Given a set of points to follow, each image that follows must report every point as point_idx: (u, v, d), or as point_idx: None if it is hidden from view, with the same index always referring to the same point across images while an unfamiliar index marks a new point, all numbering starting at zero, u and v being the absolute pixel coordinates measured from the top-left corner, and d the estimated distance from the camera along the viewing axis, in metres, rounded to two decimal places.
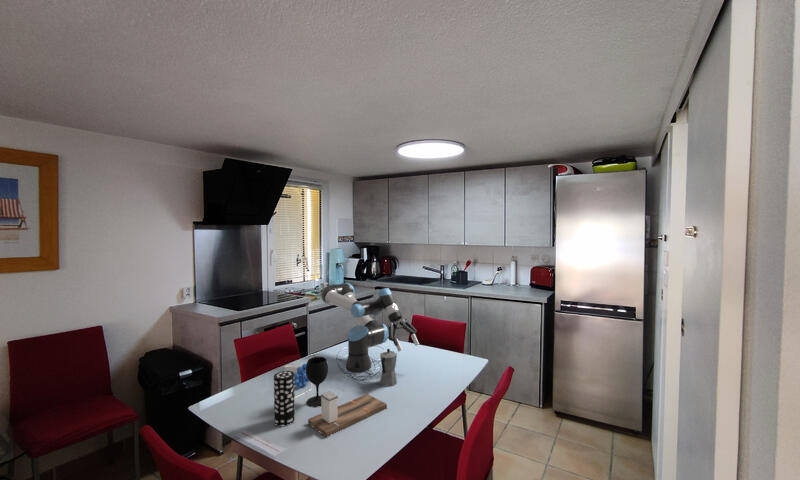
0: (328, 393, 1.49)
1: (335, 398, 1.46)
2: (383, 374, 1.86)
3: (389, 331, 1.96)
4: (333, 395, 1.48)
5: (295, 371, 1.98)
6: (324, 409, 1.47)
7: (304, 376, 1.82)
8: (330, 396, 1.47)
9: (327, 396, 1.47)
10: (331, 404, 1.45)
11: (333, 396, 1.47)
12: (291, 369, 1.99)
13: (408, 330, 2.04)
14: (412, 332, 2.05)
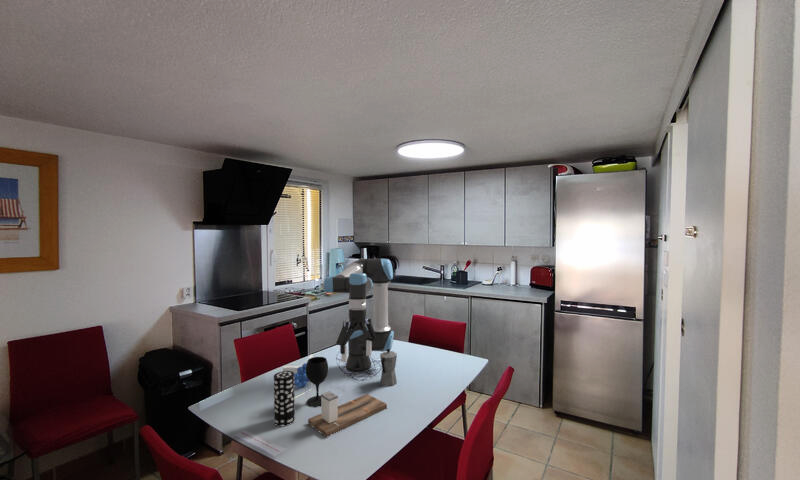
0: (328, 393, 1.49)
1: (335, 398, 1.46)
2: (383, 374, 1.86)
3: (341, 333, 1.48)
4: (333, 395, 1.48)
5: (294, 372, 1.97)
6: (324, 409, 1.47)
7: (304, 376, 1.82)
8: (330, 396, 1.47)
9: (327, 396, 1.47)
10: (331, 404, 1.45)
11: (333, 396, 1.47)
12: (290, 370, 1.97)
13: (366, 334, 1.57)
14: None
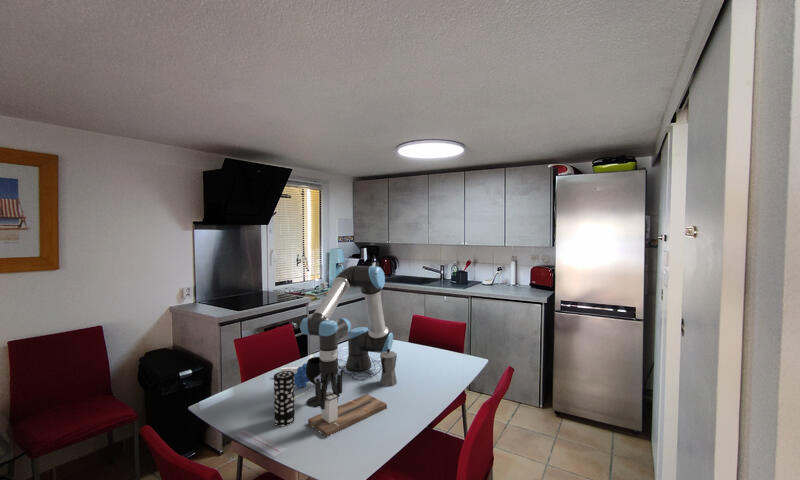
0: (328, 393, 1.49)
1: (335, 398, 1.46)
2: (383, 374, 1.86)
3: (316, 389, 1.44)
4: (333, 395, 1.48)
5: None
6: None
7: (304, 376, 1.82)
8: (330, 396, 1.47)
9: (327, 396, 1.47)
10: (331, 404, 1.45)
11: (333, 396, 1.47)
12: None
13: (333, 387, 1.49)
14: (335, 393, 1.50)
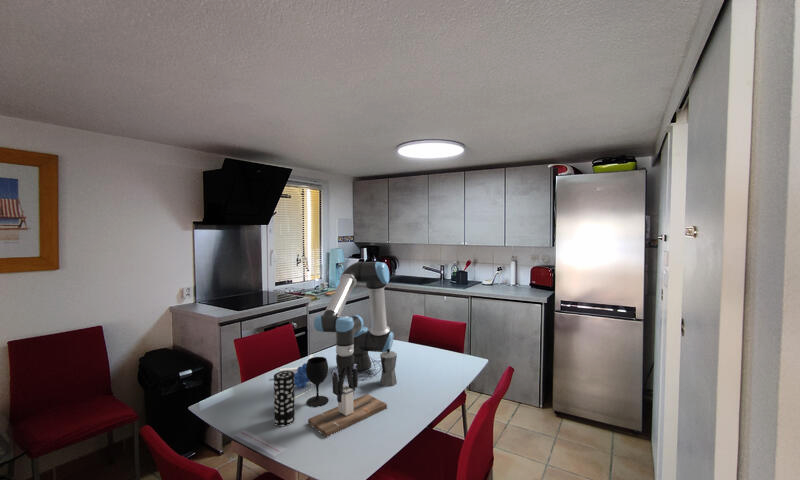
0: (344, 387, 1.55)
1: (351, 392, 1.52)
2: (383, 374, 1.86)
3: (333, 383, 1.50)
4: (349, 388, 1.53)
5: None
6: None
7: (304, 376, 1.82)
8: (346, 389, 1.53)
9: (343, 390, 1.52)
10: (348, 397, 1.51)
11: (349, 390, 1.52)
12: None
13: (349, 381, 1.55)
14: (351, 387, 1.55)
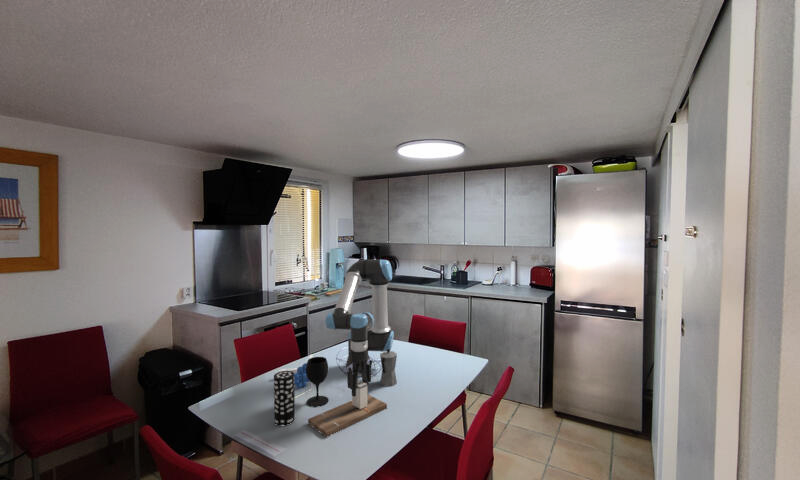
0: (358, 381, 1.60)
1: (365, 386, 1.57)
2: (383, 374, 1.86)
3: (348, 378, 1.55)
4: (363, 383, 1.59)
5: None
6: None
7: (304, 376, 1.82)
8: (360, 384, 1.58)
9: (358, 384, 1.58)
10: (362, 391, 1.56)
11: (363, 384, 1.58)
12: None
13: (363, 376, 1.60)
14: (364, 382, 1.61)
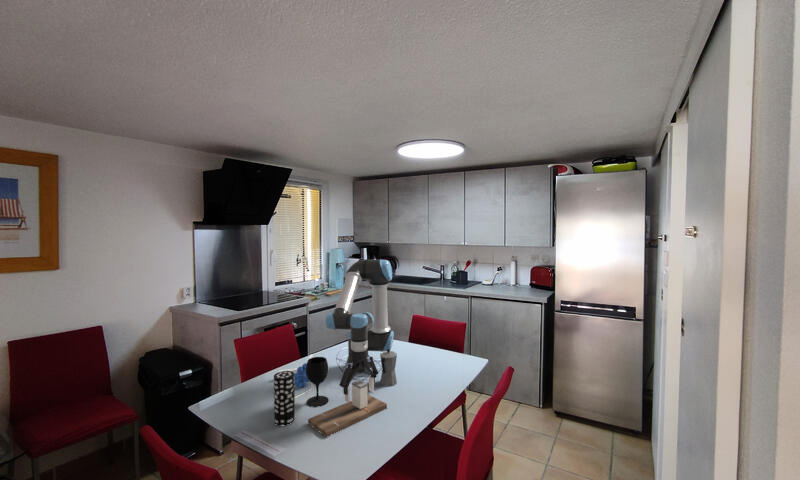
0: (358, 381, 1.60)
1: (365, 386, 1.57)
2: (383, 374, 1.86)
3: (344, 375, 1.53)
4: (363, 383, 1.59)
5: None
6: (355, 396, 1.58)
7: (304, 376, 1.82)
8: (360, 384, 1.58)
9: (358, 384, 1.58)
10: (362, 391, 1.56)
11: (363, 384, 1.58)
12: None
13: (368, 372, 1.62)
14: None
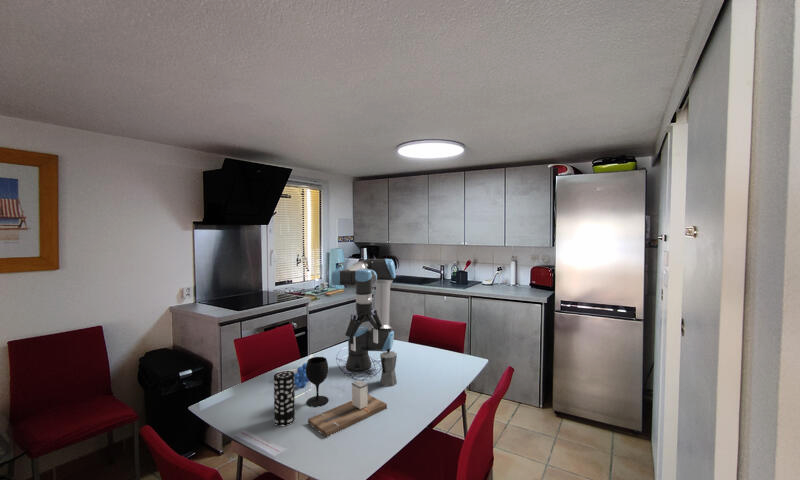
0: (358, 381, 1.60)
1: (365, 386, 1.57)
2: (383, 374, 1.86)
3: (349, 325, 1.62)
4: (363, 383, 1.59)
5: None
6: (355, 396, 1.58)
7: (304, 376, 1.82)
8: (360, 384, 1.58)
9: (358, 384, 1.58)
10: (362, 391, 1.56)
11: (363, 384, 1.58)
12: None
13: (372, 324, 1.71)
14: None
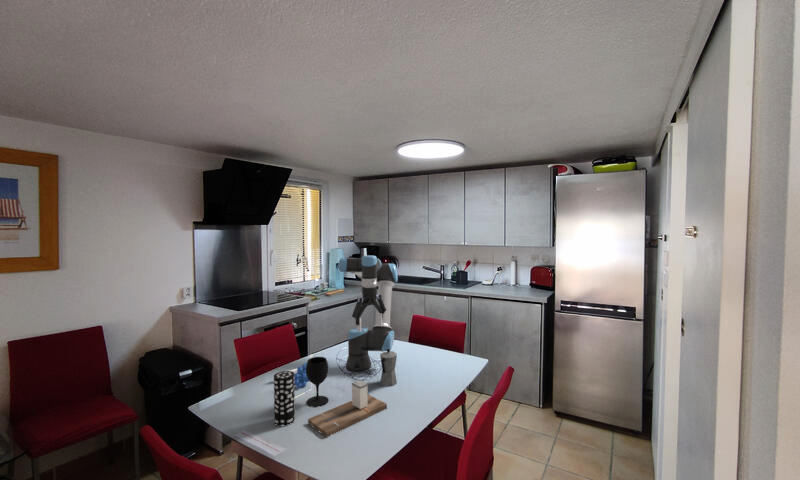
0: (358, 381, 1.60)
1: (365, 386, 1.57)
2: (383, 374, 1.86)
3: (356, 307, 1.72)
4: (363, 383, 1.59)
5: None
6: (355, 396, 1.58)
7: (304, 376, 1.82)
8: (360, 384, 1.58)
9: (358, 384, 1.58)
10: (362, 391, 1.56)
11: (363, 384, 1.58)
12: None
13: (377, 308, 1.81)
14: None
